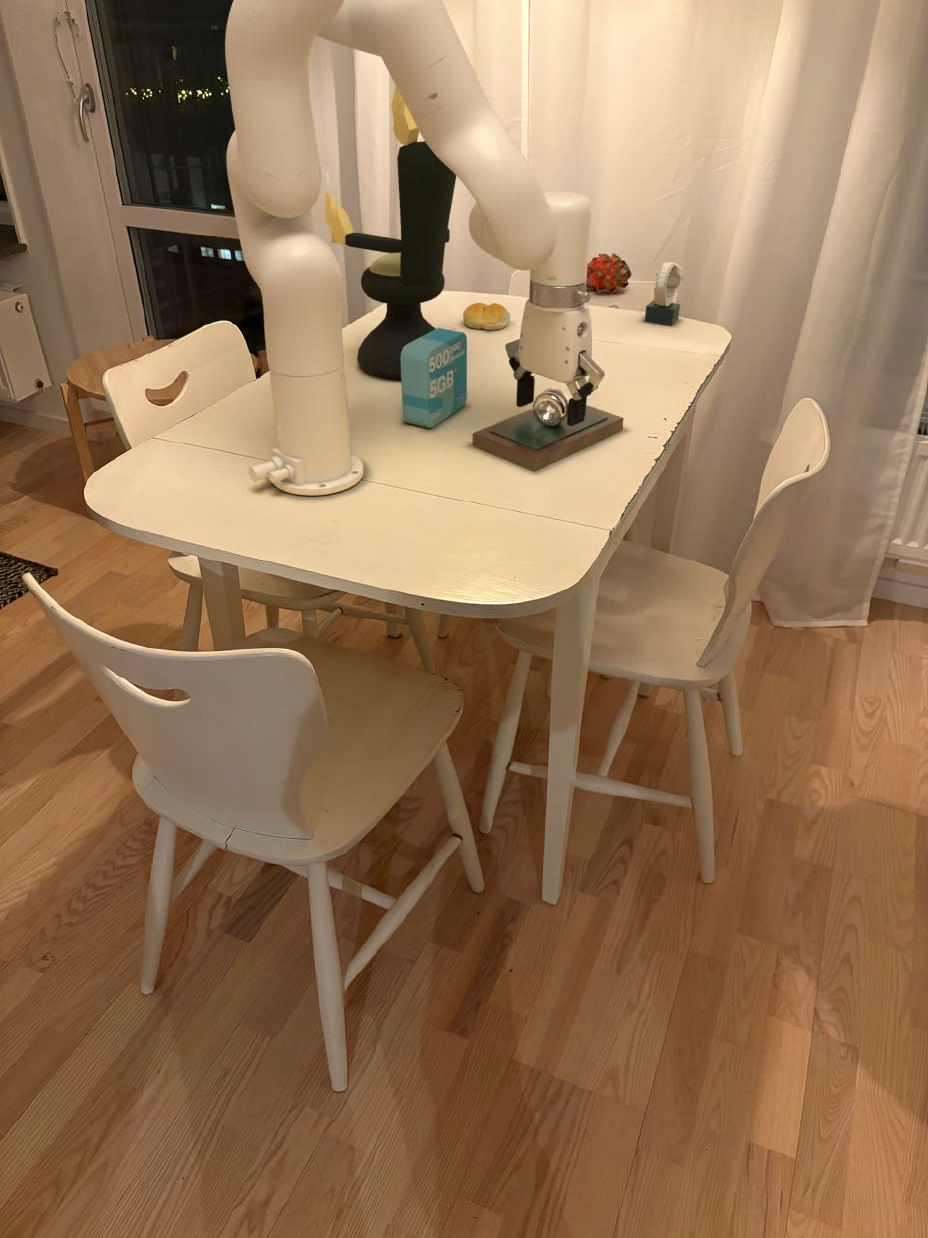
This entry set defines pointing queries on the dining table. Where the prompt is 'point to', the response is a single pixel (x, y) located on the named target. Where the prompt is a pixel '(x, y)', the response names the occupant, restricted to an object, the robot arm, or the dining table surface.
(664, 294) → the watch
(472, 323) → the bread roll
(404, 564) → the dining table surface
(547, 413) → the metal grooved wheel
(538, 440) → the desk pad
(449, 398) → the data package
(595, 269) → the dragon fruit
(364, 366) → the candelabra
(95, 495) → the dining table surface
